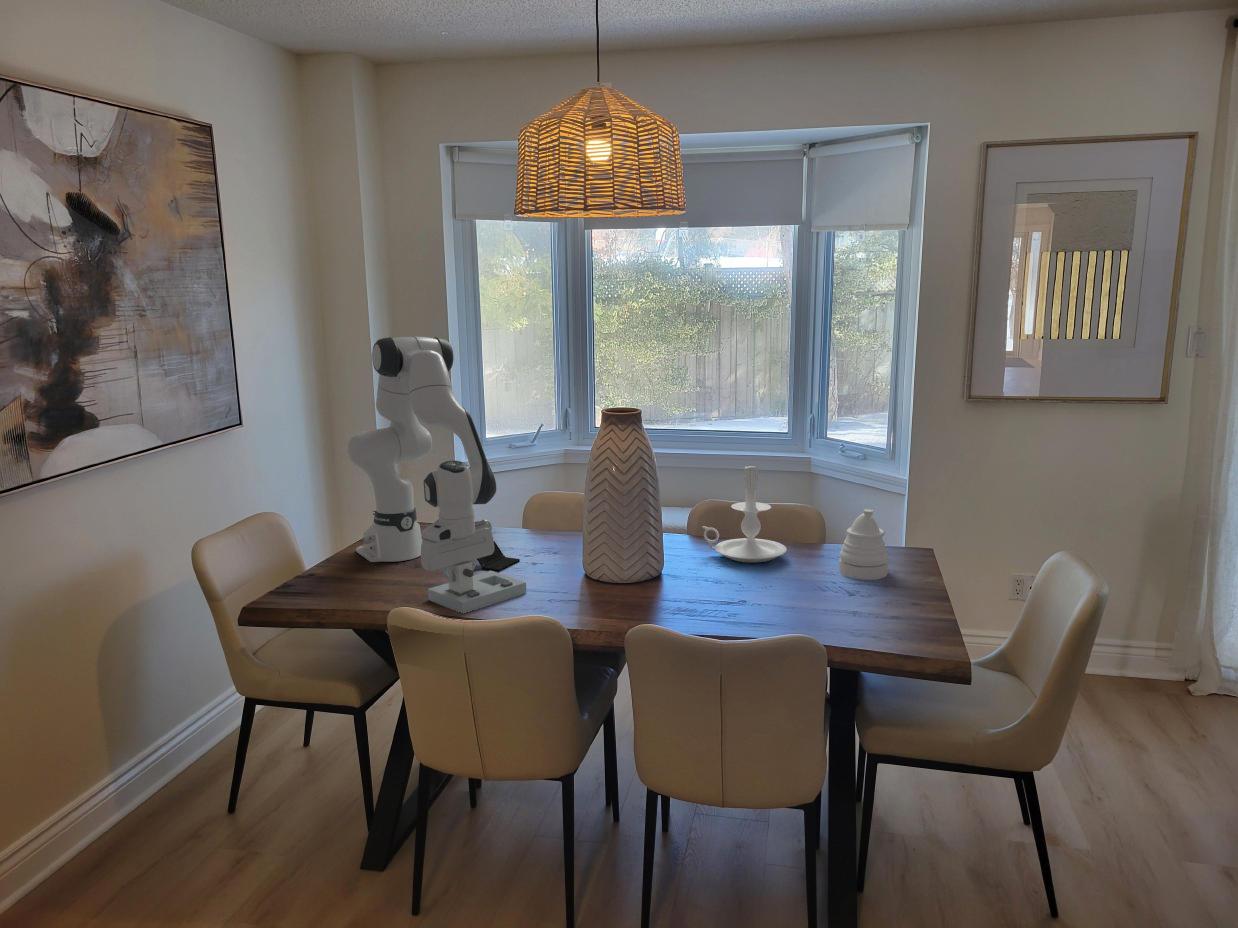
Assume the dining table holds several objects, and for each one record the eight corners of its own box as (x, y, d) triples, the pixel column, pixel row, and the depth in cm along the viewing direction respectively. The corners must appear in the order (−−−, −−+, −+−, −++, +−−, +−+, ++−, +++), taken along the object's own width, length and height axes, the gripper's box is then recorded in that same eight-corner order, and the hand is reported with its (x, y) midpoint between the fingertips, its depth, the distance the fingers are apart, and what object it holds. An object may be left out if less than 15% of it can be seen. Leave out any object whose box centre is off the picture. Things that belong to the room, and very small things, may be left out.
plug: (448, 592, 218) (447, 562, 217) (461, 588, 221) (460, 558, 219) (465, 598, 213) (463, 567, 212) (478, 594, 216) (476, 564, 215)
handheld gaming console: (506, 567, 241) (486, 538, 242) (487, 581, 243) (468, 552, 244) (523, 561, 252) (504, 533, 253) (505, 574, 254) (486, 546, 255)
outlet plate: (428, 599, 220) (427, 586, 220) (491, 580, 234) (490, 568, 234) (463, 614, 210) (462, 600, 209) (526, 593, 224) (525, 580, 223)
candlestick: (710, 544, 264) (710, 455, 259) (791, 551, 256) (793, 459, 251) (693, 564, 245) (693, 468, 240) (780, 572, 237) (782, 473, 232)
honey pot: (895, 578, 230) (898, 513, 227) (849, 580, 229) (851, 515, 226) (876, 563, 243) (879, 502, 239) (832, 566, 242) (834, 504, 238)
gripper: (483, 516, 224) (485, 566, 227) (415, 532, 210) (419, 586, 212) (498, 520, 220) (500, 571, 222) (430, 536, 205) (433, 591, 208)
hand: (460, 579), depth 217 cm, fingers closed on plug, 4 cm apart
